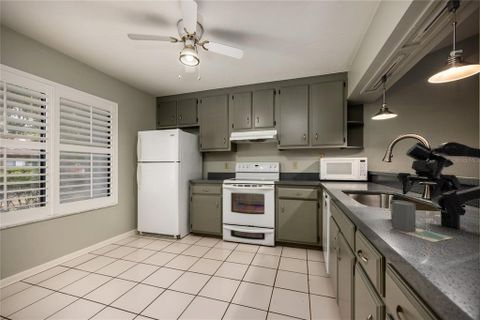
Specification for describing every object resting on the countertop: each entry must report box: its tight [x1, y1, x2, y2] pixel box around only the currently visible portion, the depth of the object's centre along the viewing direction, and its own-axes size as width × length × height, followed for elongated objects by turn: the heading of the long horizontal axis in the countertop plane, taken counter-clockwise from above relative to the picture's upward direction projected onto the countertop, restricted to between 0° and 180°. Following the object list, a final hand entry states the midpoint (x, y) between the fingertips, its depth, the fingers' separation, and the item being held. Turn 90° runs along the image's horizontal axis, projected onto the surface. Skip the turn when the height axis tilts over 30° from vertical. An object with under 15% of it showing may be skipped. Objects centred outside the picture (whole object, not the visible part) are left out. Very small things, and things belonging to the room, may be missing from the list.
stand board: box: [386, 226, 454, 243], centre depth 73 cm, size 11×15×5 cm
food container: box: [389, 199, 417, 220], centre depth 86 cm, size 12×6×10 cm, turn 167°
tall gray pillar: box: [391, 202, 417, 233], centre depth 76 cm, size 5×5×10 cm
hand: (416, 195), depth 79 cm, fingers open, 9 cm apart
